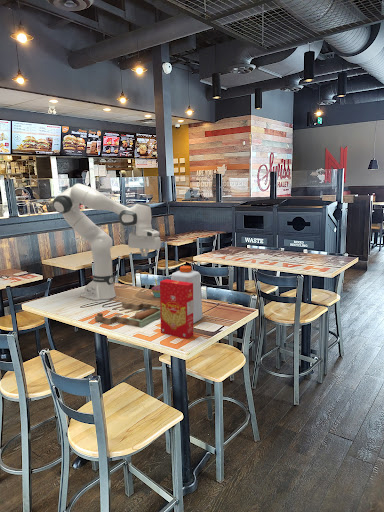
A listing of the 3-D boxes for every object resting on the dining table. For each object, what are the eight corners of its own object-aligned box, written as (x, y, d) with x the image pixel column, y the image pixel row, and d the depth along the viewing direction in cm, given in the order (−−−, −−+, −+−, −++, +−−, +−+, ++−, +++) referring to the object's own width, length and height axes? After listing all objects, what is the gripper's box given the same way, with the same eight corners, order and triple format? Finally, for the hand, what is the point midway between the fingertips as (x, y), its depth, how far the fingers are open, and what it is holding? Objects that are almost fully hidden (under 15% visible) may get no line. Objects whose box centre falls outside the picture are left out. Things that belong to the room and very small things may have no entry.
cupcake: (149, 297, 240) (148, 278, 238) (155, 294, 248) (154, 275, 246) (161, 298, 238) (161, 279, 235) (167, 295, 245) (167, 276, 243)
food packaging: (160, 332, 182) (159, 281, 177) (167, 329, 186) (166, 279, 182) (187, 339, 174) (186, 285, 170) (193, 335, 179) (193, 283, 174)
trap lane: (92, 321, 198) (92, 315, 197) (127, 305, 224) (127, 300, 223) (136, 330, 185) (136, 323, 185) (168, 312, 211) (168, 306, 211)
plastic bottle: (191, 326, 190) (191, 271, 185) (165, 321, 197) (165, 268, 193) (205, 317, 203) (205, 265, 198) (180, 313, 210) (180, 262, 206)
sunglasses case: (146, 312, 211) (150, 303, 208) (154, 320, 209) (159, 311, 206) (122, 321, 197) (127, 312, 194) (131, 330, 194) (136, 321, 191)
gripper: (125, 231, 218) (126, 255, 220) (156, 233, 209) (156, 258, 211) (132, 230, 224) (132, 254, 226) (162, 232, 214) (162, 256, 217)
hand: (144, 256), depth 219 cm, fingers closed
